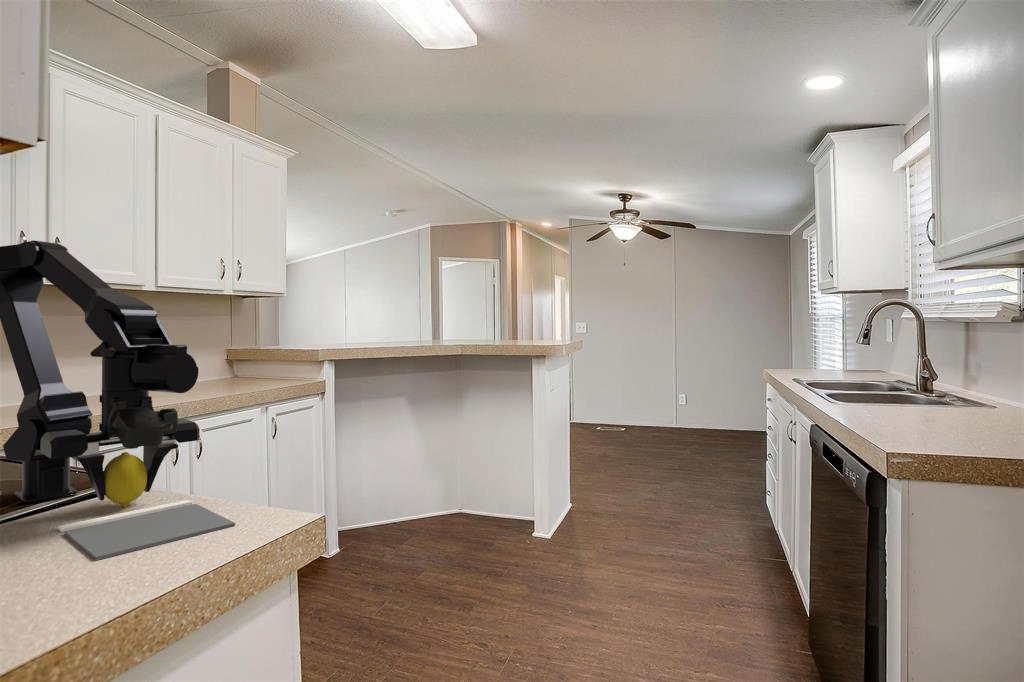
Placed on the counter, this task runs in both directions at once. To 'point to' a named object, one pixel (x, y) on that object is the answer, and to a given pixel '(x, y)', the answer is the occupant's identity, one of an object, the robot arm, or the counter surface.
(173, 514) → the mat
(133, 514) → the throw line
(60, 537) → the counter surface
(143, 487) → the lemon
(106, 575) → the counter surface
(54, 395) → the robot arm
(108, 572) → the counter surface
